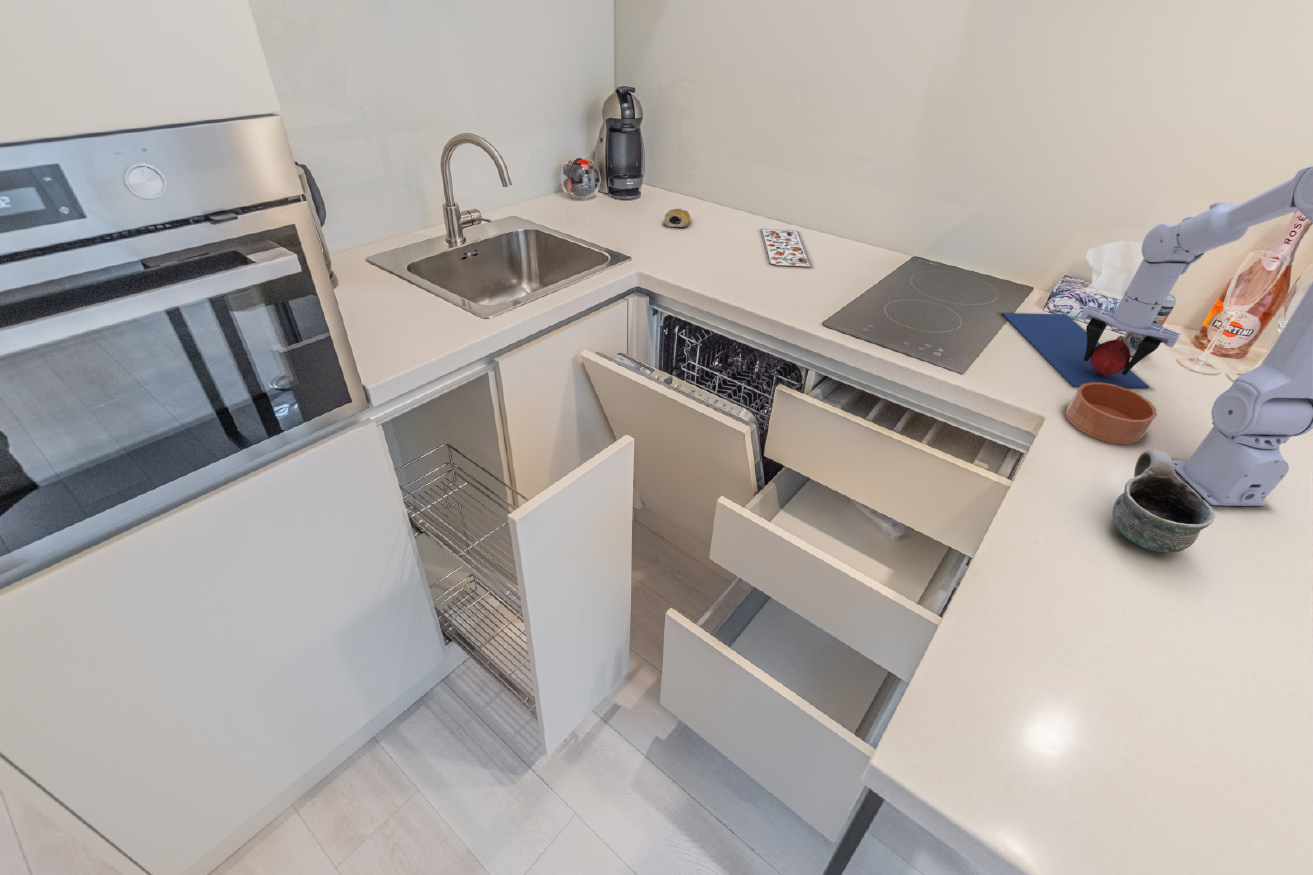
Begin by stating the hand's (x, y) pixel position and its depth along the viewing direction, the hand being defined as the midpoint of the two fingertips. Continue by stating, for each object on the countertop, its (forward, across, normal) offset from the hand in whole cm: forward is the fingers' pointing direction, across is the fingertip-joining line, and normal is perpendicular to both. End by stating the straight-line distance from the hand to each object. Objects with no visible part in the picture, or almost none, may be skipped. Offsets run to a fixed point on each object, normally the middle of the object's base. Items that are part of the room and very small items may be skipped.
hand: (1105, 365), depth 113 cm
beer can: (+3, -2, -15) cm, 16 cm away
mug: (+3, -14, +40) cm, 43 cm away
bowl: (+2, -5, +16) cm, 17 cm away
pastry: (+3, +106, 0) cm, 106 cm away
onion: (+2, 0, 0) cm, 2 cm away
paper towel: (+2, +76, -8) cm, 76 cm away
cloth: (+2, +7, -7) cm, 11 cm away
